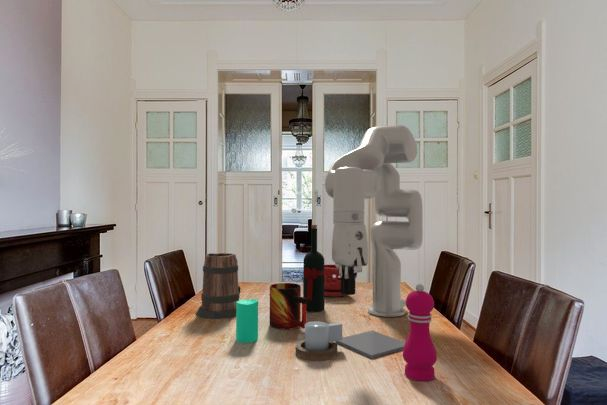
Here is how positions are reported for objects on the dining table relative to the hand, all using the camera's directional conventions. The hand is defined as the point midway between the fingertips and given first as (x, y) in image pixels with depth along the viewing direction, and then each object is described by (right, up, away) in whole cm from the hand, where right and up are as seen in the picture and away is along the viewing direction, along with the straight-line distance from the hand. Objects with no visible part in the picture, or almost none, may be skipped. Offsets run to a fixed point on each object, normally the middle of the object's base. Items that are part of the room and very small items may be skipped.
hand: (347, 294), depth 98 cm
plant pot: (+2, -16, +70) cm, 72 cm away
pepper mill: (+15, -16, -9) cm, 24 cm away
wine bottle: (-7, -16, +45) cm, 48 cm away
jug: (-6, -16, +5) cm, 17 cm away
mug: (-15, -16, +27) cm, 34 cm away
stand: (-7, -16, +4) cm, 18 cm away
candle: (-26, -16, +14) cm, 34 cm away
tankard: (-39, -16, +45) cm, 61 cm away
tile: (+8, -16, +10) cm, 20 cm away
